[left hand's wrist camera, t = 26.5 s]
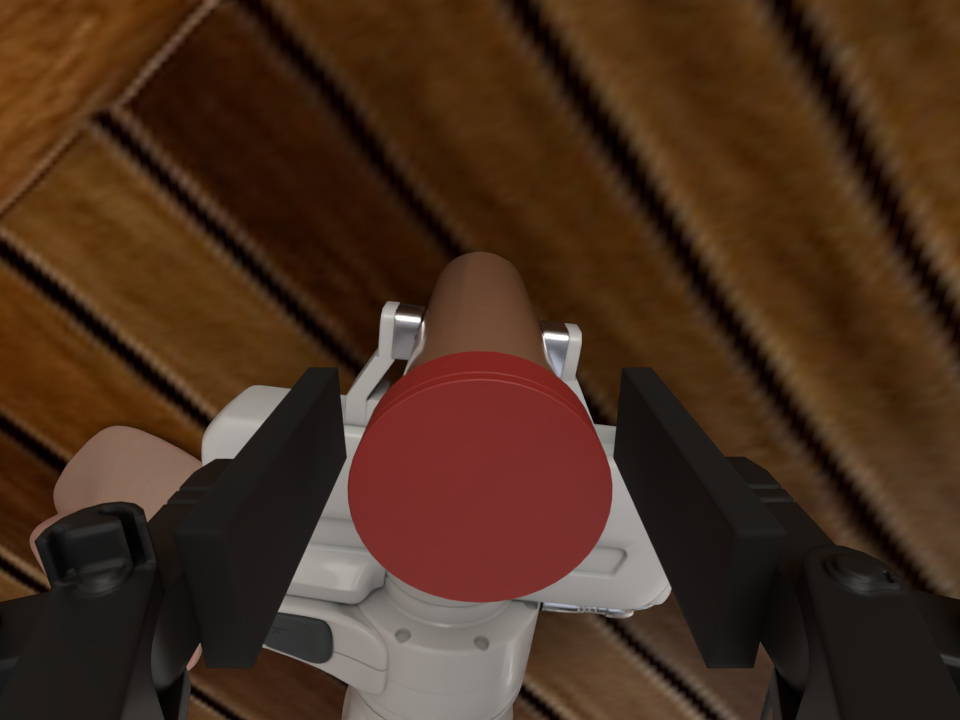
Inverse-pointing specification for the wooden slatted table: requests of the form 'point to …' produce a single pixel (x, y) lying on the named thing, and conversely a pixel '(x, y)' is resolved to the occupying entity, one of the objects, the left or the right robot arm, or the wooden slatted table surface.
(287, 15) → the wooden slatted table surface
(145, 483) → the anatomical model
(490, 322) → the jar
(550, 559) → the lid
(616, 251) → the wooden slatted table surface
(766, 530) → the left robot arm
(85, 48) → the wooden slatted table surface
